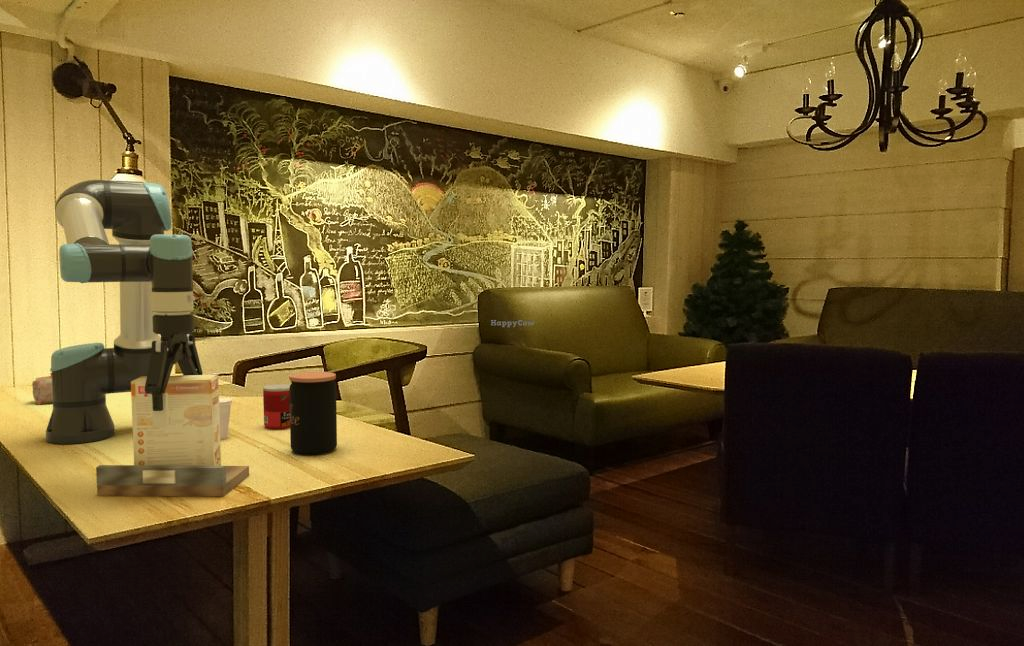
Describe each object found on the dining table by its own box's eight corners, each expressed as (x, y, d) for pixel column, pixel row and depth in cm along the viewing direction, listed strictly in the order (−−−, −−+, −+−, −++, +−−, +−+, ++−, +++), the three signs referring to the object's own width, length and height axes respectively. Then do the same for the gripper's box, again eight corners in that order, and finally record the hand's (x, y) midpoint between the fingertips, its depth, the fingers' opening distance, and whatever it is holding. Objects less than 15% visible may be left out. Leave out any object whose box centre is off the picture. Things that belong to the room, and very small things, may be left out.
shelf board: (96, 496, 143) (94, 467, 142) (134, 474, 157) (133, 448, 157) (222, 496, 143) (221, 468, 142) (249, 475, 157) (248, 449, 157)
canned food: (285, 430, 198) (285, 389, 198) (258, 429, 200) (257, 388, 199) (299, 424, 206) (299, 384, 205) (273, 423, 207) (272, 383, 207)
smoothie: (226, 433, 195) (225, 380, 193) (237, 438, 190) (236, 383, 189) (201, 437, 190) (200, 382, 189) (212, 442, 185) (210, 386, 184)
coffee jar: (295, 445, 183) (294, 371, 181) (340, 444, 184) (339, 371, 182) (286, 456, 172) (284, 378, 171) (333, 455, 173) (332, 378, 172)
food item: (34, 406, 230) (32, 374, 230) (32, 402, 237) (31, 371, 236) (85, 401, 238) (84, 370, 237) (82, 398, 245) (81, 367, 244)
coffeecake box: (222, 466, 156) (219, 373, 154) (214, 476, 149) (211, 379, 148) (144, 470, 154) (141, 375, 152) (133, 480, 147) (129, 380, 145)
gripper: (162, 318, 136) (166, 434, 138) (217, 309, 161) (219, 407, 163) (121, 318, 136) (125, 433, 138) (182, 308, 161) (185, 406, 163)
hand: (176, 419), depth 150 cm, fingers open, 13 cm apart
